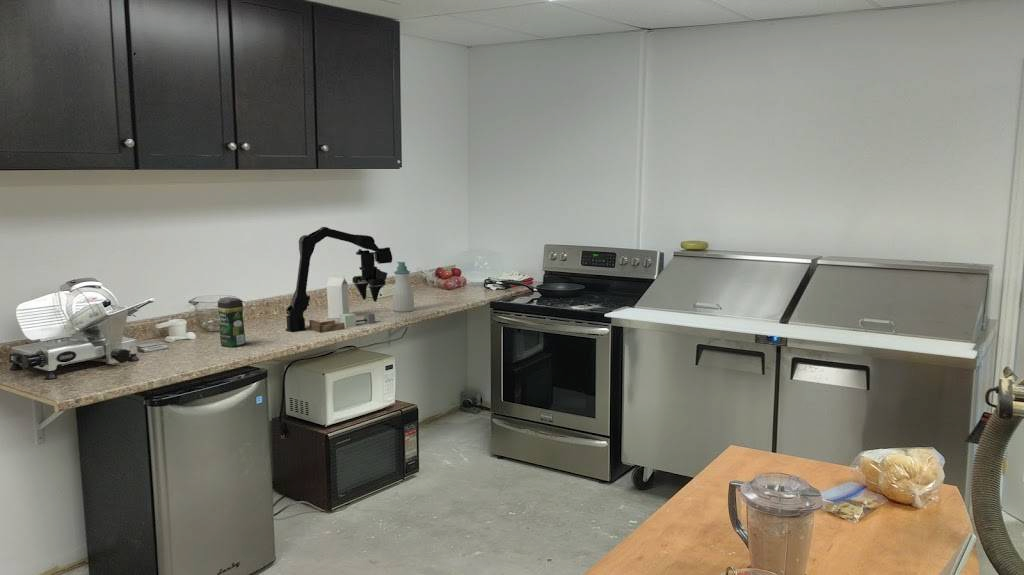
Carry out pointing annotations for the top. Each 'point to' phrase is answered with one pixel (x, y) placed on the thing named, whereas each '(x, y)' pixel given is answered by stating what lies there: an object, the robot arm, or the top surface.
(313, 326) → the walnut lane
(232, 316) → the coffee jar
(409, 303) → the soap bottle
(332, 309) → the milk carton
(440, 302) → the top surface
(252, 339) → the top surface
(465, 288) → the top surface
